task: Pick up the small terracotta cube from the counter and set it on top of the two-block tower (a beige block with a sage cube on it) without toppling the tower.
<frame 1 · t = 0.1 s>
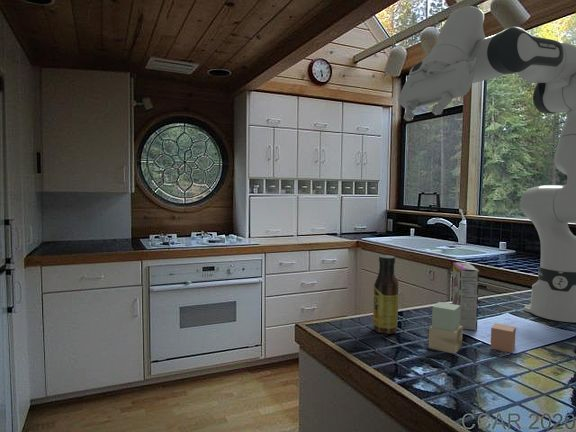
hand: (421, 116, 100), 54 cm above the worktop, tool tilted 30°, fingers open, 8 cm apart
terracotta cube: (502, 347, 101), on the worktop
candy bar box: (463, 324, 119), on the worktop
beige block: (445, 347, 101), on the worktop, touching sage cube
sage cube: (445, 326, 101), point 5 cm above the worktop, touching beige block
sauce bottle: (385, 331, 112), on the worktop
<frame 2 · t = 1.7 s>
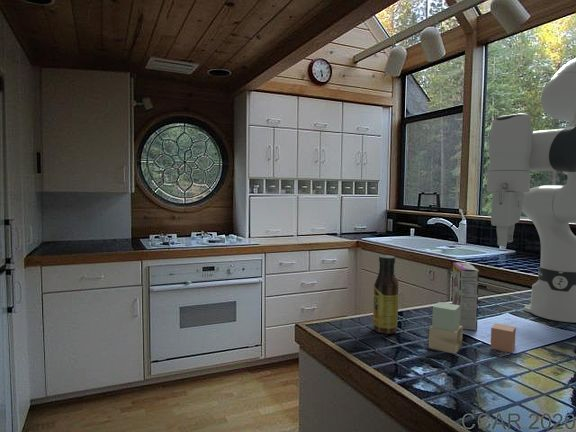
hand: (505, 243, 99), 25 cm above the worktop, tool pointing down, fingers open, 8 cm apart
nothing on the worktop moved.
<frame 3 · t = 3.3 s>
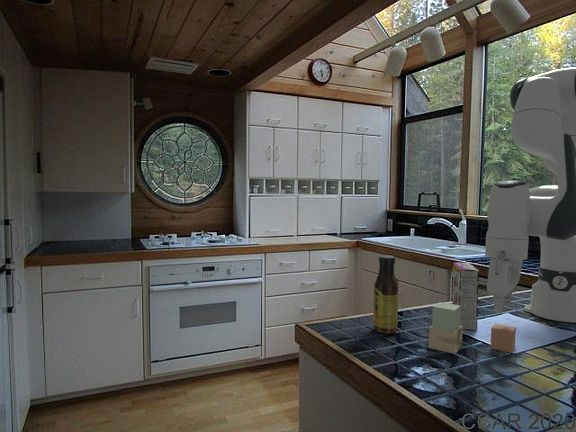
hand: (502, 308, 100), 9 cm above the worktop, tool pointing down, fingers open, 8 cm apart
beige block: (445, 347, 101), on the worktop
sage cube: (446, 326, 101), point 5 cm above the worktop
everything else where it was.
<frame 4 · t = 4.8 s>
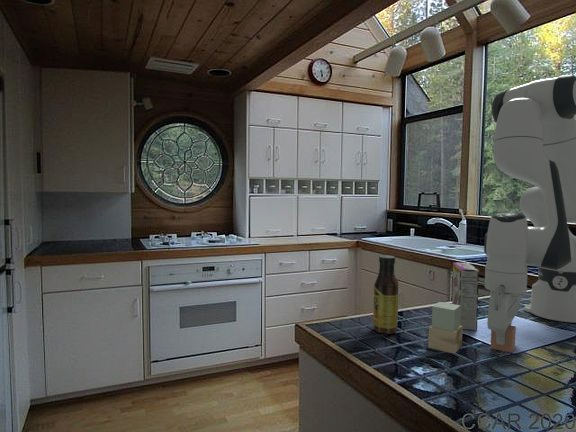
hand: (502, 340, 101), 2 cm above the worktop, tool pointing down, fingers closed on terracotta cube, 4 cm apart
terracotta cube: (502, 347, 101), on the worktop, touching gripper
beige block: (445, 347, 101), on the worktop, touching sage cube
sage cube: (445, 326, 101), point 5 cm above the worktop, touching beige block
everything else where it was.
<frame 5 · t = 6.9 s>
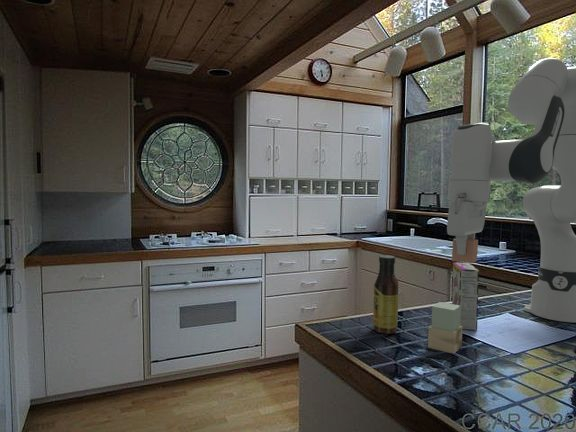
hand: (464, 253, 99), 22 cm above the worktop, tool pointing down, fingers closed on terracotta cube, 4 cm apart
terracotta cube: (464, 261, 99), point 21 cm above the worktop, touching gripper
everything else where it was.
when the fingers open (13 cm above the worktop, at t = 9.5 s): terracotta cube drops 1 cm, resting on sage cube.
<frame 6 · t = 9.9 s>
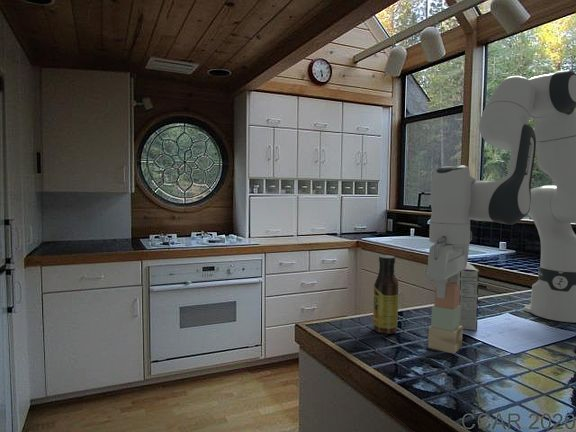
hand: (447, 293, 100), 13 cm above the worktop, tool pointing down, fingers open, 8 cm apart
terracotta cube: (446, 305, 100), point 10 cm above the worktop, touching sage cube
sage cube: (445, 326, 101), point 5 cm above the worktop, touching beige block, terracotta cube
everything else where it was.
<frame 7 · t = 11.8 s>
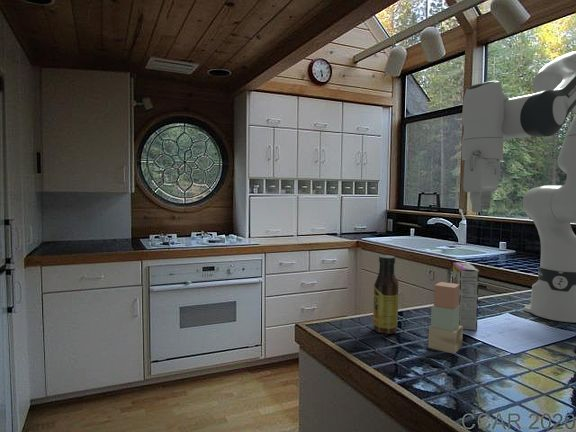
hand: (481, 210, 101), 32 cm above the worktop, tool pointing down, fingers open, 8 cm apart
nothing on the worktop moved.
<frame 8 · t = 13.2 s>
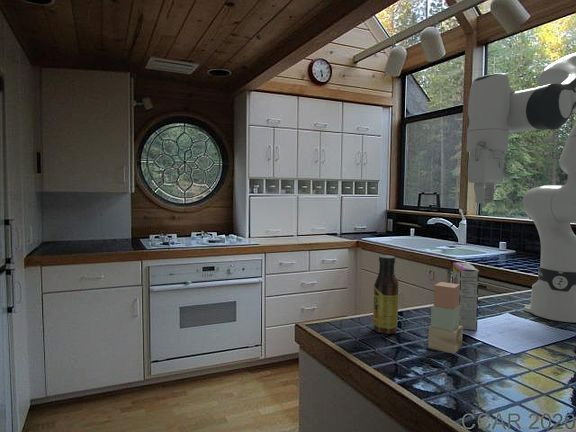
hand: (484, 203, 101), 34 cm above the worktop, tool pointing down, fingers open, 8 cm apart
nothing on the worktop moved.
at the end: terracotta cube 0.1 cm off-centre on the beige block, point 10.0 cm above the beige block's base; sage cube tilted 0°; the gripper is holding nothing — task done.
